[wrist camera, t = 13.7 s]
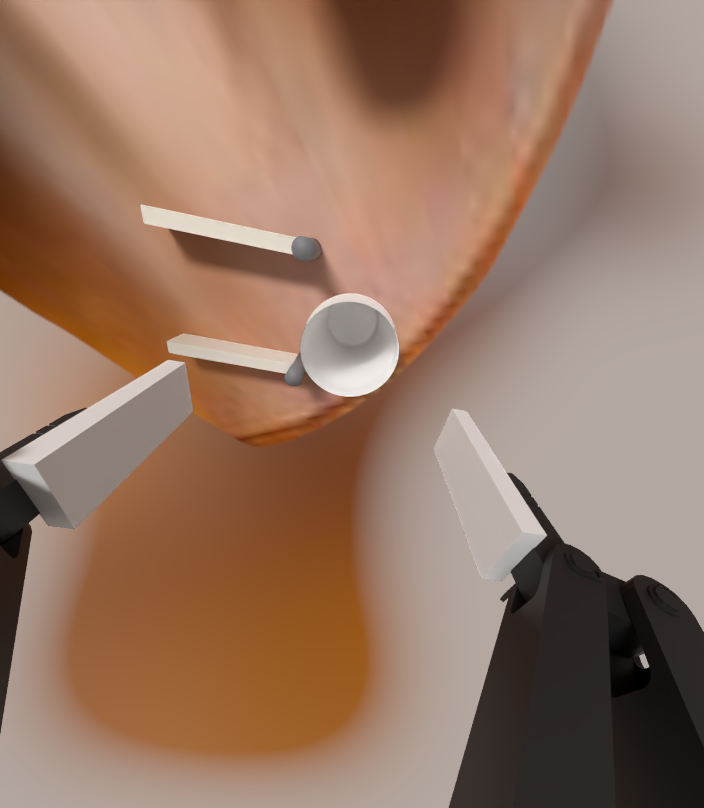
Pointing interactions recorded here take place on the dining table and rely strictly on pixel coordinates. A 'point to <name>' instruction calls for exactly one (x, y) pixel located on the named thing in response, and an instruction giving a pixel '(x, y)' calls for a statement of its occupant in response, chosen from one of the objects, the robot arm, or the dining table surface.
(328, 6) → the dining table surface
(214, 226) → the pair of white bars
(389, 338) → the cup
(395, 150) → the dining table surface
